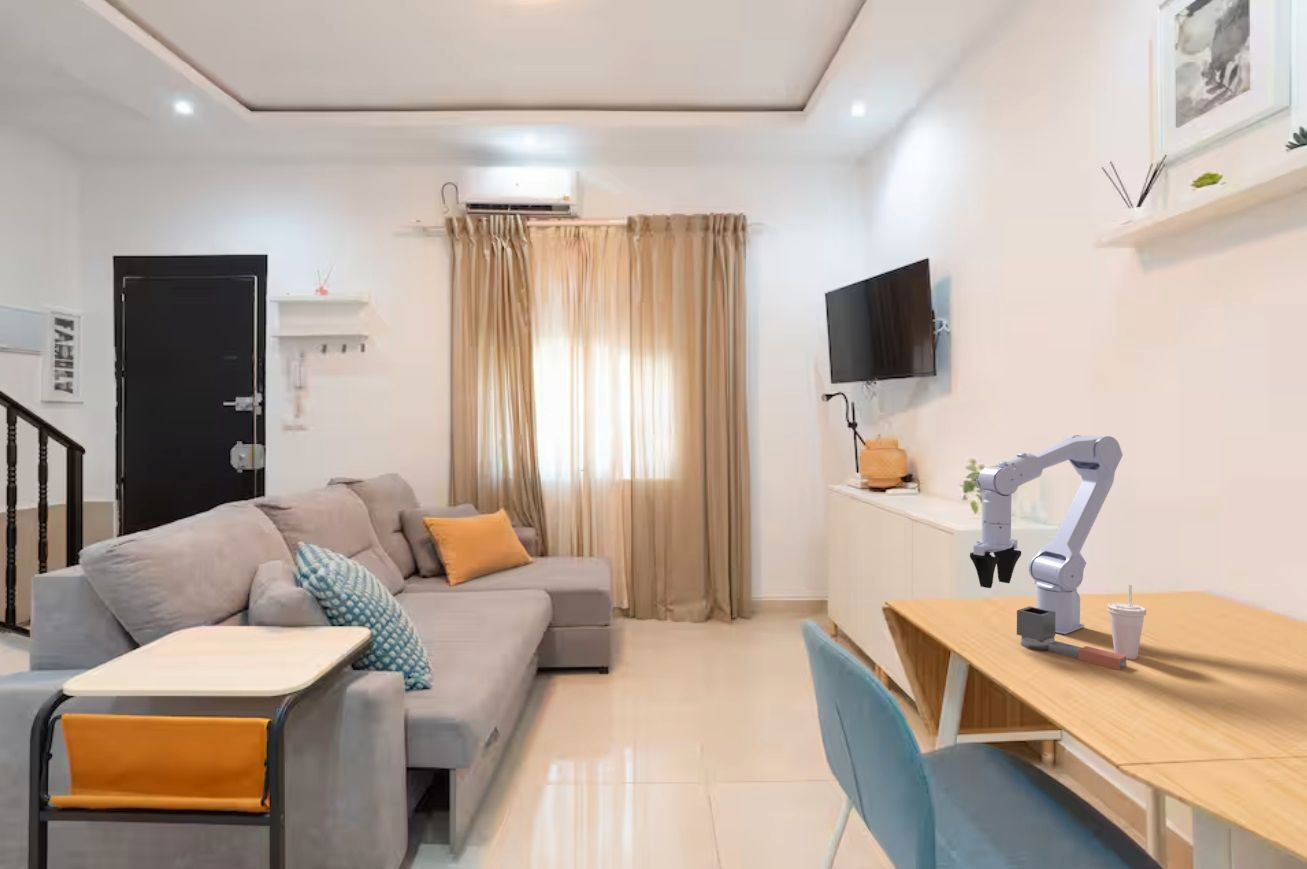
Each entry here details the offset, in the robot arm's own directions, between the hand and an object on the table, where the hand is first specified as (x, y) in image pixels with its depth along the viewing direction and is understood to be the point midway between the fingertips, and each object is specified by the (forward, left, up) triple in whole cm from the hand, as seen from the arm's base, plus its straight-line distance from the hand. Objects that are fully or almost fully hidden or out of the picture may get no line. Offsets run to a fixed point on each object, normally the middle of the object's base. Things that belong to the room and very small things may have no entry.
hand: (995, 584), depth 154 cm
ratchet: (+2, +16, -11) cm, 19 cm away
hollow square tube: (+2, +10, -8) cm, 13 cm away
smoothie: (-6, +23, -11) cm, 26 cm away
